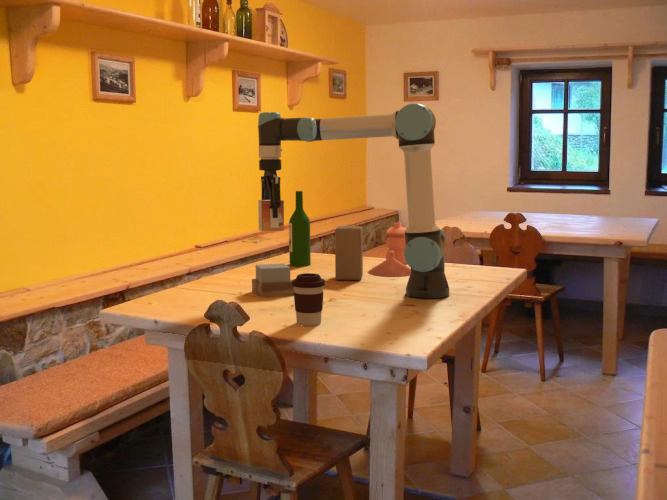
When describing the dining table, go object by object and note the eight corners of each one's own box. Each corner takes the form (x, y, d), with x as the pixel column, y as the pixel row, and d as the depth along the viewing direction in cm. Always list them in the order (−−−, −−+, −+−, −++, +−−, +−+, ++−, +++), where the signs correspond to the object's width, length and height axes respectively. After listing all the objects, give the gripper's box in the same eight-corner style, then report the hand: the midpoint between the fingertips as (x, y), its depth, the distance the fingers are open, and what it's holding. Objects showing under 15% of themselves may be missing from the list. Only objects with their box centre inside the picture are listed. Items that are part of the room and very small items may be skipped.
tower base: (296, 295, 253) (295, 281, 252) (262, 298, 248) (262, 284, 247) (284, 290, 264) (284, 276, 263) (252, 293, 259) (251, 278, 258)
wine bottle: (287, 266, 317) (286, 190, 313) (307, 265, 320) (306, 190, 316) (292, 269, 309) (291, 191, 305) (313, 268, 312) (312, 191, 308)
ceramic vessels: (415, 278, 285) (415, 229, 282) (361, 277, 289) (361, 229, 287) (423, 265, 319) (423, 221, 316) (374, 264, 323) (374, 221, 321)
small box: (261, 231, 249) (260, 200, 248) (258, 230, 254) (257, 199, 253) (284, 230, 251) (284, 200, 250) (281, 229, 256) (280, 199, 255)
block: (362, 276, 290) (362, 225, 287) (361, 280, 280) (361, 228, 278) (337, 276, 291) (337, 225, 288) (335, 280, 281) (334, 228, 279)
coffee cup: (324, 320, 227) (324, 272, 225) (325, 327, 217) (325, 277, 215) (292, 320, 227) (292, 272, 224) (292, 328, 217) (291, 277, 215)
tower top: (290, 281, 252) (290, 267, 251) (261, 283, 249) (261, 268, 248) (283, 277, 261) (283, 263, 260) (255, 278, 258) (255, 264, 258)
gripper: (290, 158, 242) (291, 228, 245) (271, 158, 260) (272, 224, 263) (268, 158, 239) (269, 229, 242) (251, 158, 257) (252, 224, 260)
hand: (271, 226), depth 253 cm, fingers closed on small box, 6 cm apart
